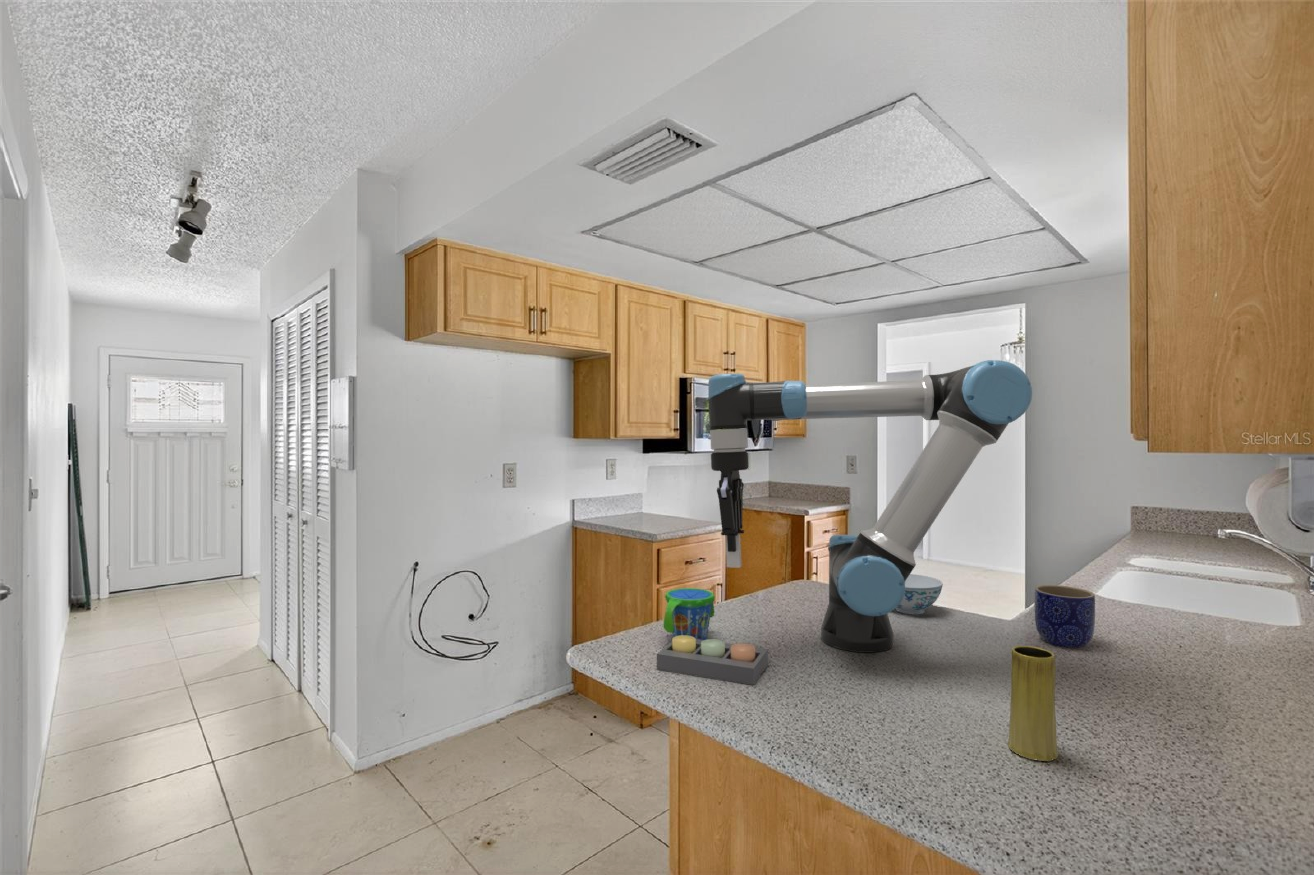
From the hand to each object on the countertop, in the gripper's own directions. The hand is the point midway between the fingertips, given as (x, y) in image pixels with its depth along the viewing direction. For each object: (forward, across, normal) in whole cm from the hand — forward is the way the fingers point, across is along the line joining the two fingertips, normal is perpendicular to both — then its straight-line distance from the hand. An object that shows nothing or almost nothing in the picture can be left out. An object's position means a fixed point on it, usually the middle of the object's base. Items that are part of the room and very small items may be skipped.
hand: (734, 566), depth 127 cm
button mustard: (+17, +7, -9) cm, 21 cm away
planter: (+21, -32, +64) cm, 74 cm away
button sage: (+17, +7, -3) cm, 19 cm away
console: (+18, +7, -3) cm, 20 cm away
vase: (+20, +22, +48) cm, 57 cm away
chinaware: (+20, -46, +34) cm, 61 cm away
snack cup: (+18, -6, -12) cm, 23 cm away
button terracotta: (+18, +8, +3) cm, 19 cm away
